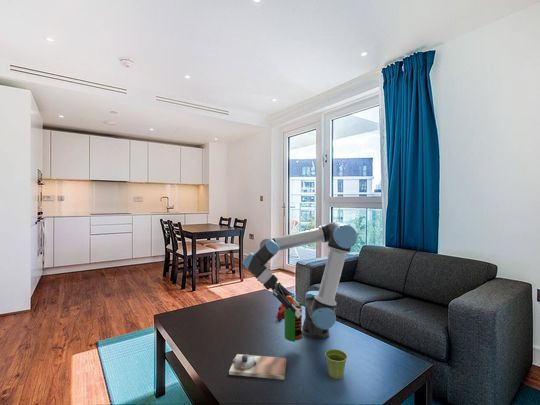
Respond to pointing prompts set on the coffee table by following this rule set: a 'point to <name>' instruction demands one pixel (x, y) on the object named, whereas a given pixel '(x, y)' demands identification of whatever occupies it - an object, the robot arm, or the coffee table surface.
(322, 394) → the coffee table surface
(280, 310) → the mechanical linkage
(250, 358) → the board
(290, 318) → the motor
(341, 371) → the plant pot
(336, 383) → the coffee table surface
